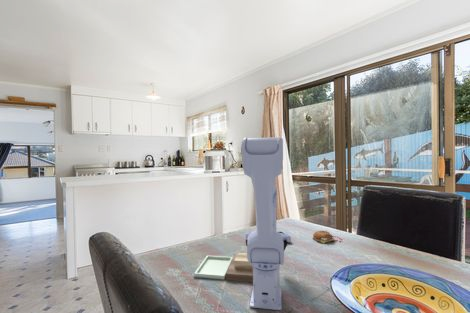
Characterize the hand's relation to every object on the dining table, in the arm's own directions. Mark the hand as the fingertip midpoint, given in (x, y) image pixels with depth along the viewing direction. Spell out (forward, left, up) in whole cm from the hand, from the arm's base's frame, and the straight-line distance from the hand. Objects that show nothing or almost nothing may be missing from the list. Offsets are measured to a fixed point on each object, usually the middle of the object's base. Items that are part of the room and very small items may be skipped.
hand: (268, 261), depth 80 cm
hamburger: (+34, -25, -4) cm, 42 cm away
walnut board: (0, +8, -3) cm, 9 cm away
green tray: (0, +18, -3) cm, 19 cm away
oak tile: (0, +8, -1) cm, 8 cm away
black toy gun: (+31, +3, -4) cm, 31 cm away
